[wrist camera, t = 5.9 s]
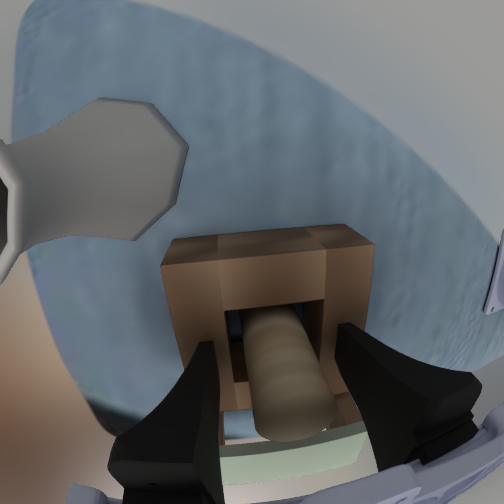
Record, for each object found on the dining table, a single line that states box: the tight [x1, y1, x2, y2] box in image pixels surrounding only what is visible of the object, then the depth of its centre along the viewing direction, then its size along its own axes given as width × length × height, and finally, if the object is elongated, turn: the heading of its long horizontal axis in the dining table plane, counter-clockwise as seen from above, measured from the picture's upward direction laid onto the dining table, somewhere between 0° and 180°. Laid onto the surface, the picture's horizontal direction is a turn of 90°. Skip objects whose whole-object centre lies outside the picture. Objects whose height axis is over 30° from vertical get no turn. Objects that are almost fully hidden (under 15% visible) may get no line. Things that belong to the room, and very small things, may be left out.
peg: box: [239, 303, 338, 442], centre depth 13 cm, size 3×3×8 cm
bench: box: [218, 391, 367, 485], centre depth 16 cm, size 9×4×6 cm, turn 94°
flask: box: [0, 98, 188, 285], centre depth 8 cm, size 7×7×10 cm
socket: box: [160, 224, 375, 412], centre depth 15 cm, size 9×9×4 cm
